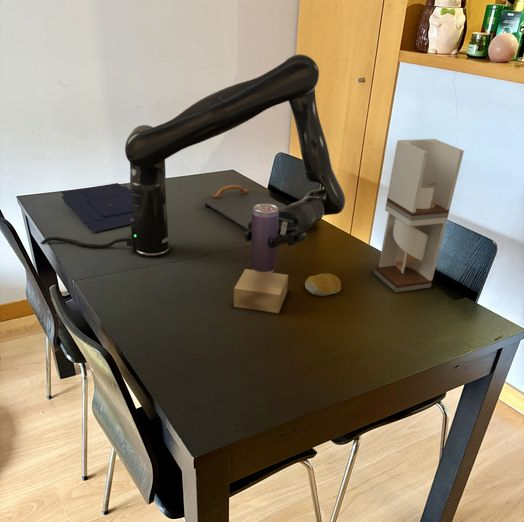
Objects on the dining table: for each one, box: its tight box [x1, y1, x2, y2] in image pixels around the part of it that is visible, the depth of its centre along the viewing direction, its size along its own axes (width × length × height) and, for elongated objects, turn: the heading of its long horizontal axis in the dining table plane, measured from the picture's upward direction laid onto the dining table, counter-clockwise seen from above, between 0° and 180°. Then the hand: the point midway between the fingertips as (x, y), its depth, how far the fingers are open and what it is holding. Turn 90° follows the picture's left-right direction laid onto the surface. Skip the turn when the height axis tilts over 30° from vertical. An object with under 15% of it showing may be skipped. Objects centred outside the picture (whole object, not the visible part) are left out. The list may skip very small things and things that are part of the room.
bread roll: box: [304, 272, 342, 297], centre depth 140 cm, size 8×9×4 cm
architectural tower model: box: [373, 138, 465, 293], centre depth 137 cm, size 11×11×35 cm
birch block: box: [233, 268, 289, 314], centre depth 133 cm, size 11×11×5 cm
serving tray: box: [201, 184, 288, 231], centre depth 180 cm, size 39×23×6 cm, turn 34°
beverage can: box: [250, 204, 279, 274], centre depth 126 cm, size 6×6×15 cm
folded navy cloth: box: [60, 182, 133, 233], centre depth 179 cm, size 24×30×4 cm
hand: (258, 240), depth 124 cm, fingers closed on beverage can, 6 cm apart
